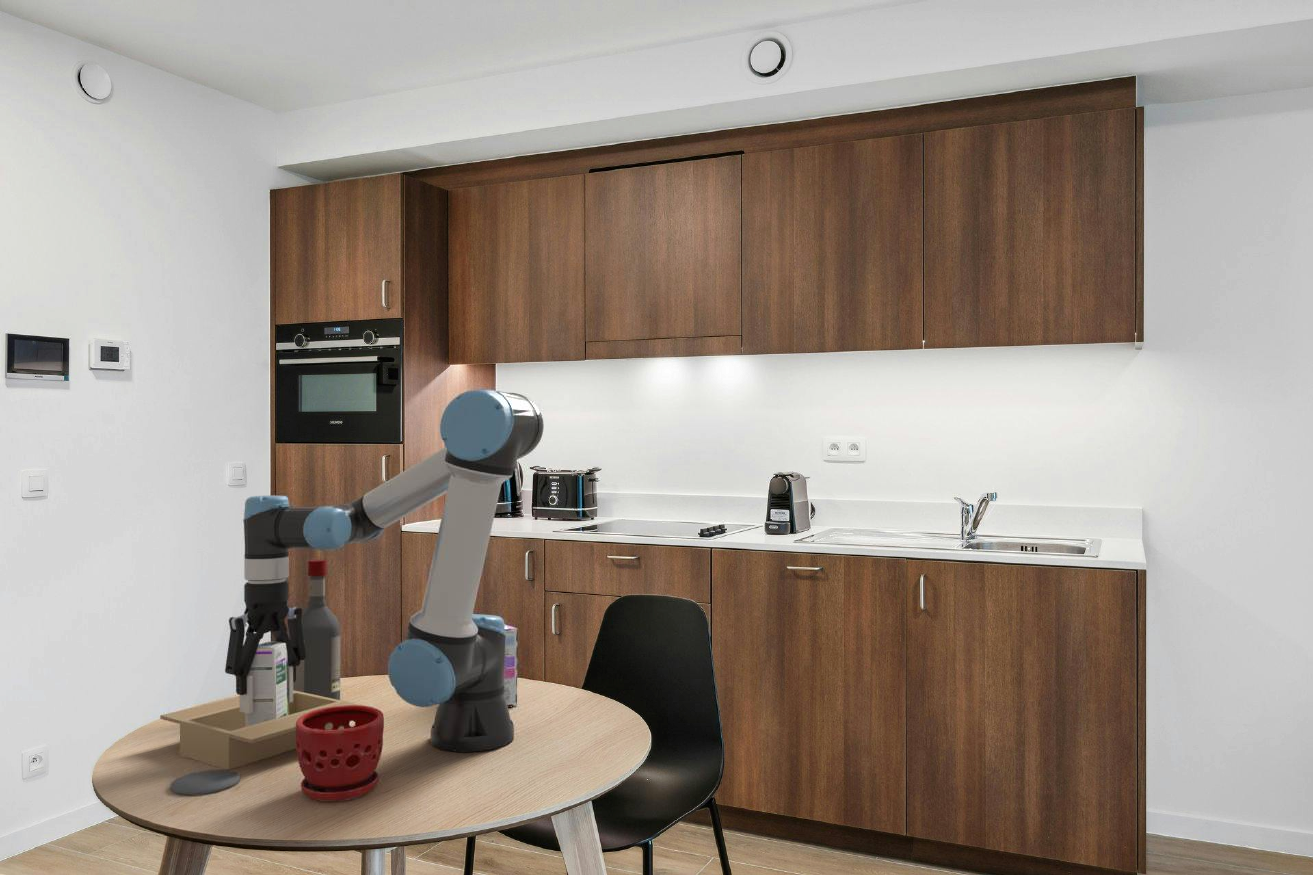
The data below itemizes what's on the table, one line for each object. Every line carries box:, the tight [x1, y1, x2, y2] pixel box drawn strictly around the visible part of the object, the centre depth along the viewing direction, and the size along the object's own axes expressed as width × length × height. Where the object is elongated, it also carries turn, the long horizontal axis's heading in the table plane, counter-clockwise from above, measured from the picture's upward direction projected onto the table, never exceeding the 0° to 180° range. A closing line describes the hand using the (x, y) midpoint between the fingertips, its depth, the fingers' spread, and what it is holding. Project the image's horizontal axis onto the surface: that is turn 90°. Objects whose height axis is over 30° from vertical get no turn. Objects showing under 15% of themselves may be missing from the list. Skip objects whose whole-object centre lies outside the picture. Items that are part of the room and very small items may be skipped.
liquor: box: [293, 558, 342, 700], centre depth 199 cm, size 9×9×30 cm
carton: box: [159, 690, 366, 770], centre depth 172 cm, size 26×24×6 cm
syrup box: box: [245, 640, 289, 727], centre depth 172 cm, size 6×6×14 cm
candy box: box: [505, 624, 519, 708], centre depth 201 cm, size 14×6×16 cm, turn 34°
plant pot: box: [296, 704, 385, 803], centre depth 148 cm, size 13×13×12 cm
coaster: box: [170, 769, 241, 796], centre depth 151 cm, size 10×10×1 cm
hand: (266, 706), depth 172 cm, fingers closed on syrup box, 8 cm apart
